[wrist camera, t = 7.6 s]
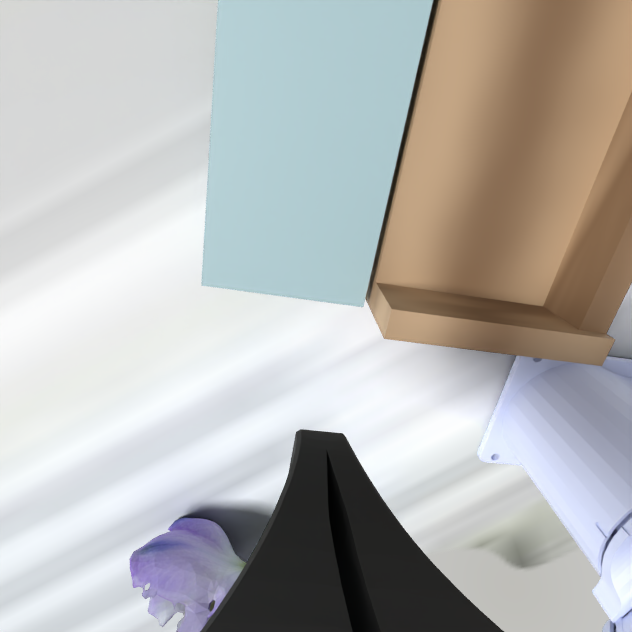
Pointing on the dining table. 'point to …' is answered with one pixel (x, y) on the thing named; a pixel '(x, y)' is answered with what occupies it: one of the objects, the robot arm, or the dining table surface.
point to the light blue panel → (306, 141)
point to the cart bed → (513, 182)
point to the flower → (186, 572)
